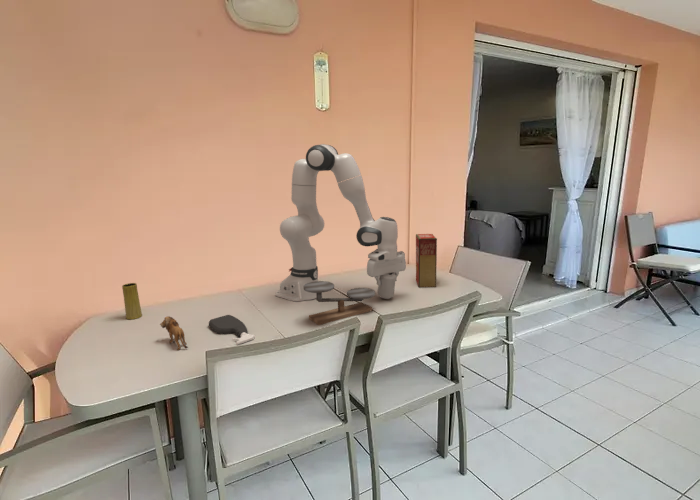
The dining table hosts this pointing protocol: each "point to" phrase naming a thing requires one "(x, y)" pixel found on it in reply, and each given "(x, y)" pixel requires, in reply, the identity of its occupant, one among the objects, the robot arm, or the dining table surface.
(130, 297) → the vase
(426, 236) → the food packaging
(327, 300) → the scale
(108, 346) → the dining table surface
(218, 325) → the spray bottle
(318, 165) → the robot arm
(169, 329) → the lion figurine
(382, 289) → the can
